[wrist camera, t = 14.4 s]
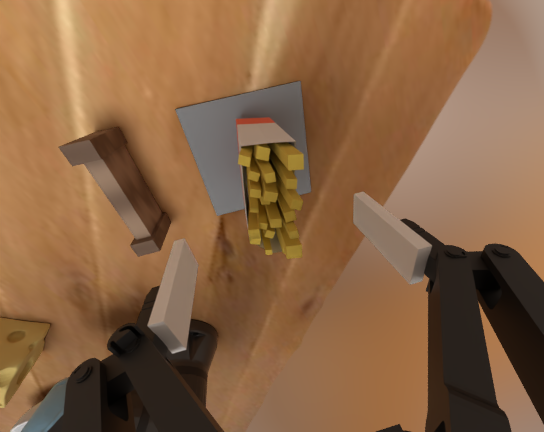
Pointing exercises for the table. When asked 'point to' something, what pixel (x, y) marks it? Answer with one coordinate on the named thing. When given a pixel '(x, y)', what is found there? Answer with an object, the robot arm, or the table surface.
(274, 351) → the table surface
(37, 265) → the table surface
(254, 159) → the french fries container
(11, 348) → the cheese
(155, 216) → the walnut fence
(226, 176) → the slate mat
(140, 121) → the table surface
